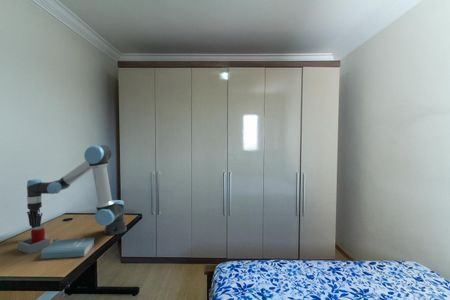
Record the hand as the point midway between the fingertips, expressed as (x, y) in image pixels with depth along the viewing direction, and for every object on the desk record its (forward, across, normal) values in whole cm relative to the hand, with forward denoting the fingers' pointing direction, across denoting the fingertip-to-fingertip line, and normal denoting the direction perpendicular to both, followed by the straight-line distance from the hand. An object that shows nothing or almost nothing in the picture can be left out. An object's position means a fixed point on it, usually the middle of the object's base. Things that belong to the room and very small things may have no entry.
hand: (35, 236), depth 161 cm
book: (+3, -38, +2) cm, 39 cm away
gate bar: (+2, -7, 0) cm, 7 cm away
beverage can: (+2, -14, +6) cm, 16 cm away
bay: (+2, -15, +6) cm, 17 cm away
